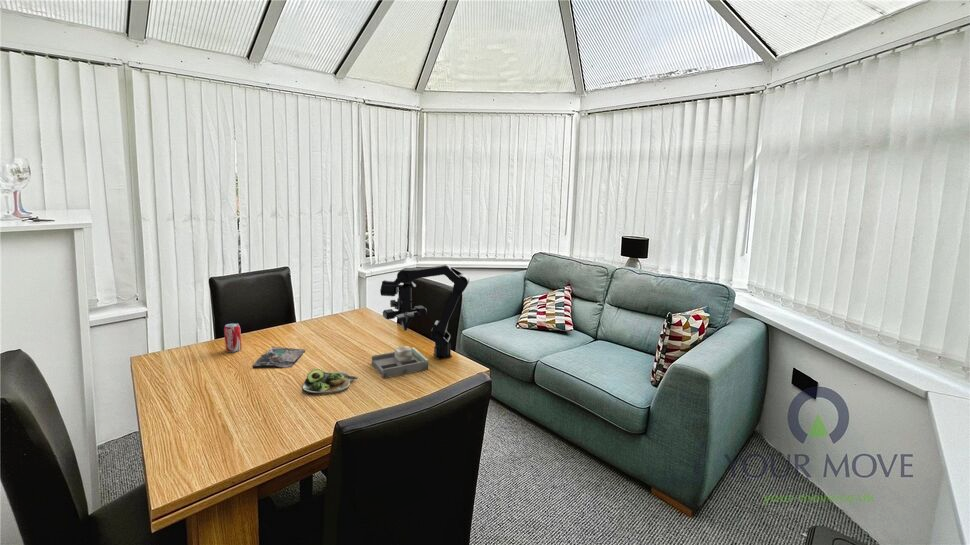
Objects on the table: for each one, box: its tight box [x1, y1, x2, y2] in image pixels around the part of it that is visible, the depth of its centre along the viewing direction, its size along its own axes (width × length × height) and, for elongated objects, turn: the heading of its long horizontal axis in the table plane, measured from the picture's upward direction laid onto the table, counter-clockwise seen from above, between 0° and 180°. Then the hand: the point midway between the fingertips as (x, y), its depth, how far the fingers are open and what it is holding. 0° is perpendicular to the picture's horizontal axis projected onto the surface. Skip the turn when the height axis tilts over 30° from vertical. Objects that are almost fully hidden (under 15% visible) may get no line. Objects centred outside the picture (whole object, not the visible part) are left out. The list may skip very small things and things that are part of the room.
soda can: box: [223, 322, 243, 353], centre depth 193 cm, size 6×6×12 cm
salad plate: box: [302, 368, 358, 396], centre depth 166 cm, size 19×18×5 cm
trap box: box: [371, 347, 429, 379], centre depth 183 cm, size 19×16×4 cm
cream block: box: [393, 345, 412, 361], centre depth 187 cm, size 6×5×4 cm
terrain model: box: [252, 346, 307, 369], centre depth 188 cm, size 20×15×3 cm
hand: (405, 330), depth 195 cm, fingers closed
